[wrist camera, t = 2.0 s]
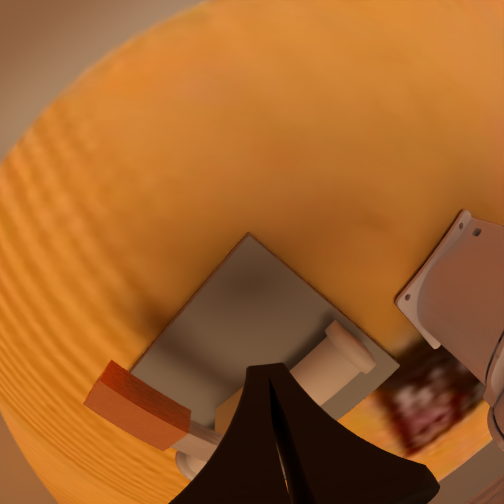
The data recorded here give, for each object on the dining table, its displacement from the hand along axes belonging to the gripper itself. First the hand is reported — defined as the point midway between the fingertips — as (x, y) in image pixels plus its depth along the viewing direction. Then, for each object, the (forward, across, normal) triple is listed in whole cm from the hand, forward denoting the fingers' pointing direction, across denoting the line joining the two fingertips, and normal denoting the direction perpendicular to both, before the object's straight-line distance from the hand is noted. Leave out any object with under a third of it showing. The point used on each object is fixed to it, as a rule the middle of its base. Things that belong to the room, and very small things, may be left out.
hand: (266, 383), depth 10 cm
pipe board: (+8, 0, +8) cm, 12 cm away
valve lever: (+2, +3, +5) cm, 6 cm away
